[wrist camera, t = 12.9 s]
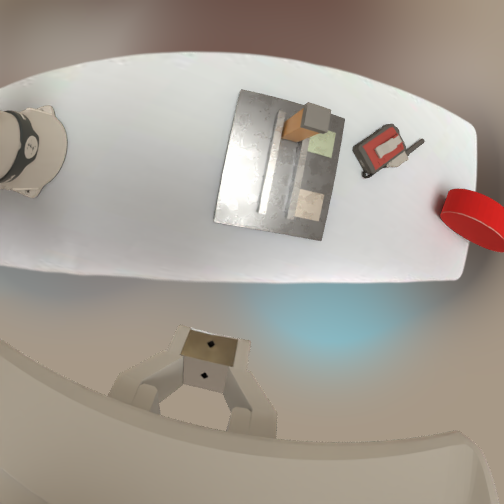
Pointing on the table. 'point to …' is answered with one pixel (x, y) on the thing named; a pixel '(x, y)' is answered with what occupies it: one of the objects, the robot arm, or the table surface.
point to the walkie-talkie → (382, 150)
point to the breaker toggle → (306, 123)
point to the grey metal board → (277, 170)
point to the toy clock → (475, 218)
